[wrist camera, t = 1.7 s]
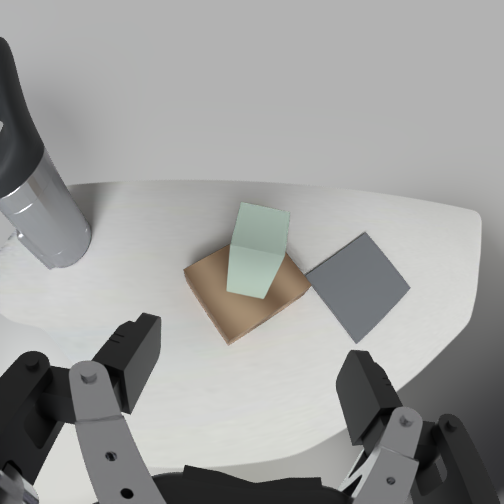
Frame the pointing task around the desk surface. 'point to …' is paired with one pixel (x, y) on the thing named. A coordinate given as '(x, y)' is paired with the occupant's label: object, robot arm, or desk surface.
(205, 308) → the walnut block
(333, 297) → the charcoal mat
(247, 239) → the sage block
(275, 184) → the desk surface
